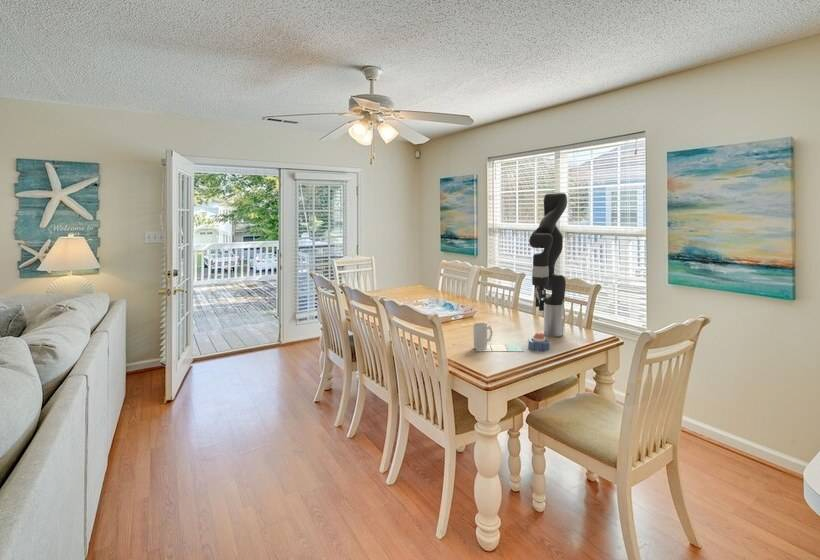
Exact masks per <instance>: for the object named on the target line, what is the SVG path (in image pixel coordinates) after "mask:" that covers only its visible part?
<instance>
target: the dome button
mask: <svg viewBox="0 0 820 560" xmlns="http://www.w3.org/2000/svg"><path fill="white" fill-rule="evenodd" d="M532 338H533V341H534V342H539V343H543V342H545V339H547V338H546V336H545V335H544V333H542V332H536V333H535V334H534V335H533V336H532Z"/></svg>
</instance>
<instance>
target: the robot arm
mask: <svg viewBox="0 0 820 560" xmlns="http://www.w3.org/2000/svg"><path fill="white" fill-rule="evenodd" d="M567 206H568V196H567V194H566V193H565V192H550V193H545V195H544V197H543V214H544V216H543V218H541V220H540V222H539V225H538V226H537V228H536V229H535V230H534V231H533V232H532V233H531V234H530V237H529V241H528V243H529V245H530V247H531V248H533V249H543V251H542V252H537V253H534V254H533V256H532V271H531V274H532V275H531V285H532V286H534V292H533V293H534V295H533V296H534V299H535V302H534V303H535V305H534V306H535V307H536V308H538V311H539V312H543V313H544V318H543V320H544V321H543V335H544V336H545V337H546V336H547V337H552V338H553V337H554V338H557V337H558V338H559V337H562V336H563V335H564V325H565V324H564V321H565V318H564V316H563V313H564V312H563V311H564V310H563V309H564V308H563V307H564V300H565V296H566V286H567V285H566V284H567V283H566V278H565V276H564V275H562V274H558V273H555V264H556V263H557V260H558V259H559V257H560V255H561V253H562V251H563V244H564V242H563V234H562V232H561V231H560V229H559V227H558V226H557V223H558V221H559V220H560V218H561V216H562V215H563V213H564V211H566V209H567ZM547 291H551V295H550V296H547ZM546 296H547V297H546Z"/></svg>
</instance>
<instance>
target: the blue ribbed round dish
mask: <svg viewBox="0 0 820 560" xmlns="http://www.w3.org/2000/svg"><path fill="white" fill-rule="evenodd" d="M527 346H528V349H529V350H531V351H534V352H546V351H549V350H550V339H548V338H546V339H545V342H543V343H539V342H534V341H533V337H529V338H528V345H527Z"/></svg>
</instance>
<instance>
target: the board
mask: <svg viewBox="0 0 820 560" xmlns="http://www.w3.org/2000/svg"><path fill="white" fill-rule="evenodd" d="M475 352H476V353H477V352H482V353H486V352H487V353H489V352H490V353H494V352H495V353H496V352H497V353H498V352H499V353H502V352H505V353H506V352H507V353H515V352H516V353H517V352H518V353H520V352H521V353H522V352H525V351H524V350H523V348H522V346H521V344H520V343H519V344H517V343H515V344H514V343H513V344H512V343H508V344H507V343H502V344H501V343H500V344H499V343H495V344H494V343H490V344H489V343H487V349H485V350H477V349H475Z"/></svg>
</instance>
